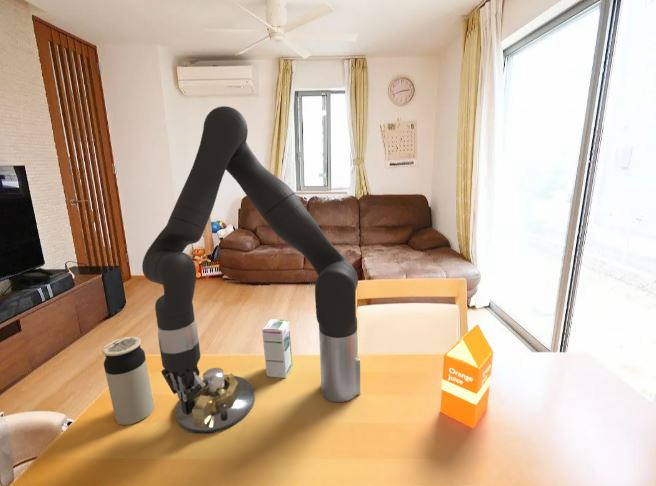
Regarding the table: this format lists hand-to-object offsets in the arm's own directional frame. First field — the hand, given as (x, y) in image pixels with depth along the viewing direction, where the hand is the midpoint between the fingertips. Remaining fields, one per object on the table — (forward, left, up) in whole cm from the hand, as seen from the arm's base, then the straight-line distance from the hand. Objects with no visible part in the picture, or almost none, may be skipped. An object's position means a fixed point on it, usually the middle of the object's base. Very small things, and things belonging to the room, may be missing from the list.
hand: (189, 411), depth 74 cm
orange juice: (-61, +12, -3) cm, 63 cm away
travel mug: (+13, -7, -3) cm, 15 cm away
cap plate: (-5, -5, -3) cm, 8 cm away
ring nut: (-5, -3, -2) cm, 6 cm away
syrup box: (-21, -14, -3) cm, 26 cm away
